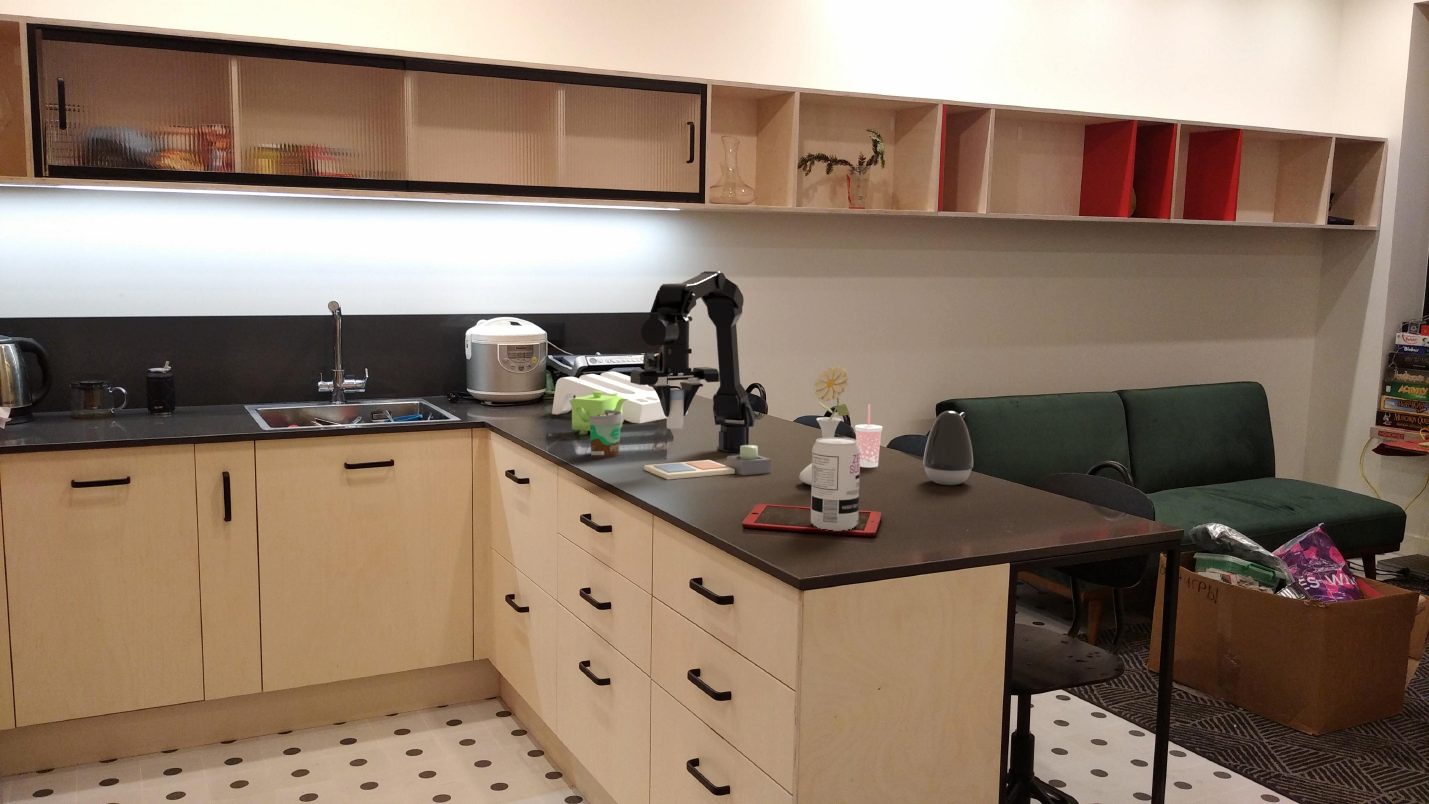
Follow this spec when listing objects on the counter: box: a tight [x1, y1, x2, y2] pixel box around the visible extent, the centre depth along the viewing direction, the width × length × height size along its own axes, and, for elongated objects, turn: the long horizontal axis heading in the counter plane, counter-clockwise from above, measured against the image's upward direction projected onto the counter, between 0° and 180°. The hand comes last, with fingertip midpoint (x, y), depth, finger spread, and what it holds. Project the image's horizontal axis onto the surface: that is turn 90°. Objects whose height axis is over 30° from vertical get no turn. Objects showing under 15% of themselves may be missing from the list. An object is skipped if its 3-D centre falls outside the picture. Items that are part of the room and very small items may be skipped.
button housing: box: [726, 454, 772, 476], centre depth 236 cm, size 7×7×3 cm
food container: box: [589, 410, 625, 459], centre depth 254 cm, size 12×6×10 cm, turn 168°
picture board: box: [643, 459, 736, 480], centre depth 235 cm, size 16×12×1 cm
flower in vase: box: [798, 365, 851, 486], centre depth 220 cm, size 13×11×25 cm
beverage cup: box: [854, 403, 883, 468], centre depth 244 cm, size 6×6×14 cm
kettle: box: [569, 391, 628, 436], centre depth 287 cm, size 15×14×11 cm
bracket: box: [551, 370, 689, 424], centre depth 325 cm, size 24×12×32 cm
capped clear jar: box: [666, 388, 685, 430], centre depth 232 cm, size 4×4×8 cm
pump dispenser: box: [922, 410, 974, 486], centre depth 226 cm, size 10×10×15 cm
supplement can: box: [810, 436, 861, 532], centre depth 187 cm, size 8×8×15 cm
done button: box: [739, 444, 759, 460], centre depth 236 cm, size 4×4×4 cm
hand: (675, 416), depth 232 cm, fingers closed on capped clear jar, 4 cm apart
